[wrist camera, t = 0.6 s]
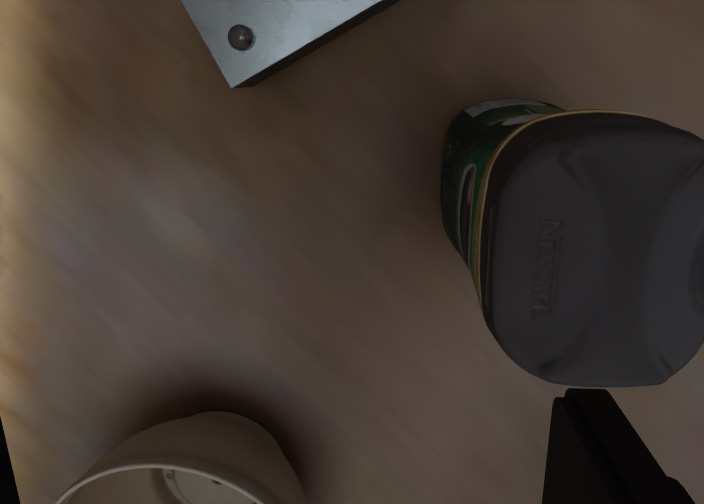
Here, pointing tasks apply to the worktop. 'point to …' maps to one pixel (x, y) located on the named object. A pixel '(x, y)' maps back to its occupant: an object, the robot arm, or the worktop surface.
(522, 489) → the worktop surface
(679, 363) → the coffee jar
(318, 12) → the housing
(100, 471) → the planter bowl
